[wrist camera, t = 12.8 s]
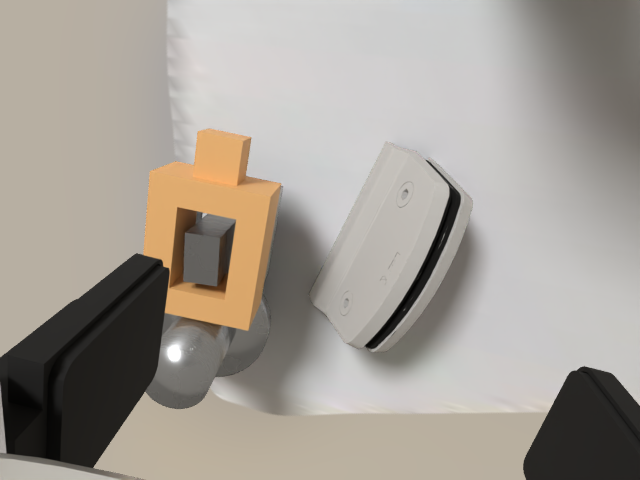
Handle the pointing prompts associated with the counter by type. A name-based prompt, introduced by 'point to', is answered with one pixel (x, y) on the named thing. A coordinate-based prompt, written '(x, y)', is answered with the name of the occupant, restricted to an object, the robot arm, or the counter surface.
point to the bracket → (222, 200)
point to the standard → (205, 351)
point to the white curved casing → (392, 249)
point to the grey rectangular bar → (208, 250)
